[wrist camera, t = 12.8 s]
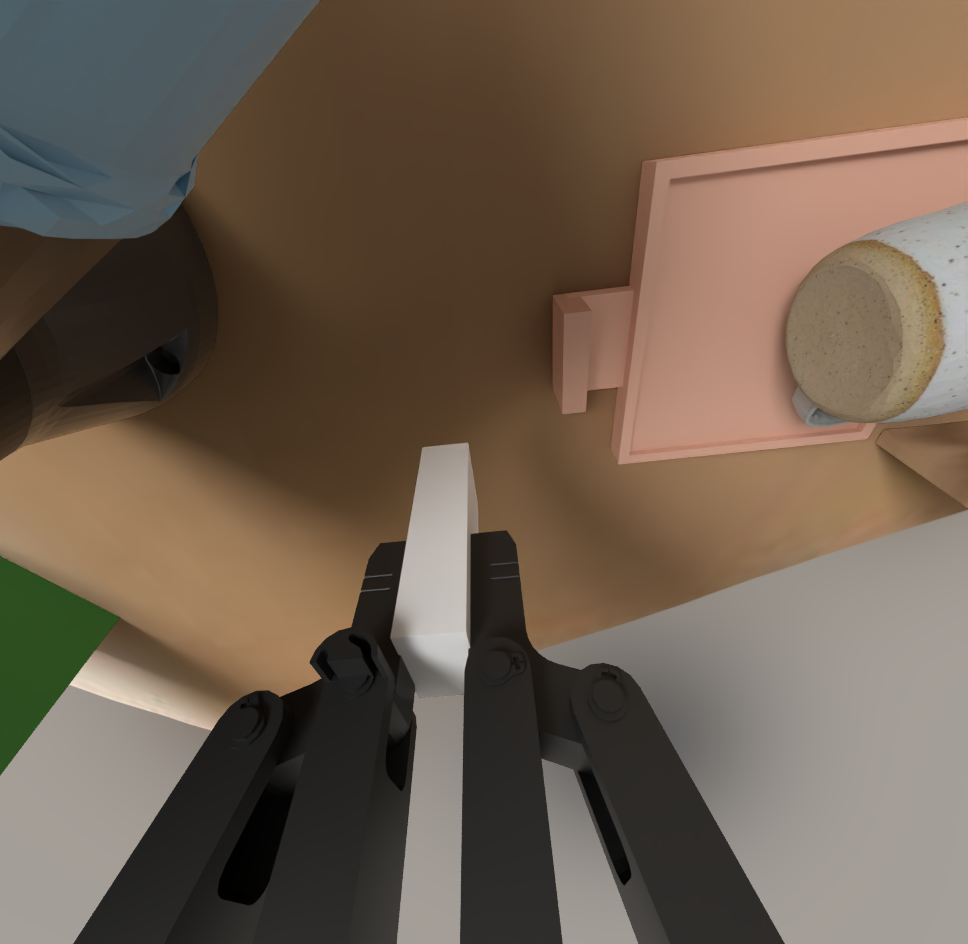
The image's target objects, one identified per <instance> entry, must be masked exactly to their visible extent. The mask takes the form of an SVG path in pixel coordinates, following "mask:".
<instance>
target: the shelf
mask: <svg viewBox="0 0 968 944" xmlns="http://www.w3.org/2000/svg"><path fill="white" fill-rule="evenodd" d="M876 444H877V445H879V446H880V447H882V448H883V449H884V450H886V451H887V452H889V453H890V454H892V455H893V456H894V457H896V458H897V459H899V460H900V461H901V462H903V463H904V464H906V465H907V466H909V467H910V468H911V469H913V470H914V471H916V472H917V473H918V474H920V475H921V476H923V477H924V478H925V479H927V480H928V481H930V482H931V483H933V484H934V485H935V486H937V487H938V488H940V489H941V490H942V491H944V492H945V493H947V494H948V495H950V496H951V497H952V498H954V499H955V500H957V501H958V502H959V503H961V504H962V505H964V506H965V507H966V508H968V421H966V422H956V423H946V424H937V425H927V426H917V427H907V428H898V429H888V430H883V431H882V433H881V435H880V436H879V438H878V439H877V441H876Z"/></svg>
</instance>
